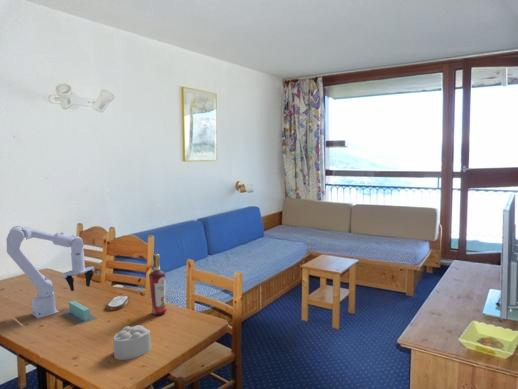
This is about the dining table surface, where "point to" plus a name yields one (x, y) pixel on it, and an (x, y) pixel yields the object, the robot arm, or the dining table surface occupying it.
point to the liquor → (157, 288)
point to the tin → (118, 303)
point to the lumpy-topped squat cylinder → (131, 342)
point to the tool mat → (75, 318)
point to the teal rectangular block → (79, 310)
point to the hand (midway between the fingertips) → (80, 288)
